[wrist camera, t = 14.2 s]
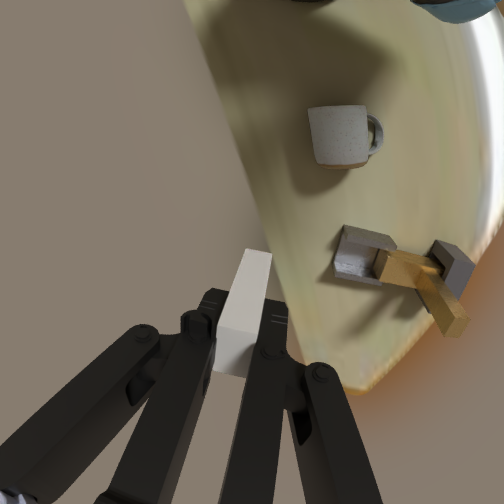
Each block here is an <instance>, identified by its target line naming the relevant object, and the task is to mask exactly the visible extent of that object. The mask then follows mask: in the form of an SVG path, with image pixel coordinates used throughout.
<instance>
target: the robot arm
mask: <svg viewBox="0 0 504 504" xmlns="http://www.w3.org/2000/svg"><path fill="white" fill-rule="evenodd" d="M292 1H299V2H319V1H324V0H292ZM410 1H411V2H412V3H414V4H415V5H417V6H420V7H422V8H423V9H425V10H426V11H428V12H429V13H431V14H432V15H433V16H435V17H436V18H438V19H439V20H441V21H444V22H449V23H452V24H459V23H465V22H469V21H472V20H475V19H477V18H479V17H481V16H483V15H485V14H486V13H488V12H490V11H491V10H492V9H494V8H495V7H496V3H498V2H500V1H502V0H410ZM271 259H272V254H271V253H266V252H262V251H257V250H252V249H247V248H246V250H245V252H244V255H243V258H242V260H241V263H240V266H239V268H238V271H237V274H236V276H235V279H234V282H233V285H232V287H231V290H230V292H229V291H224V290H220V289H215V288H211V289H210V290H209V291H207V292H206V293H205V294H204V296H203V298H202V301H201V302H200V304H199V307H198V308H197V310H191V311H187V312H186V313H184V314H183V315H182V316H181V333H179V334H173V335H163V334H159V333H158V330H157V329H156V328H154V327H153V326H150V325H146V324H140V325H136V326H133V327H132V328H130V329H129V330H128V331H127V332H125V333H124V334H123V335H122V336H121V337H120V338H119V339H117V340H116V341H115V342H114V343H113V344H112V345H110V346H109V347H108V348H107V349H106V350H105V351H104V352H103V353H101V354H100V355H99V356H98V357H97V358H96V359H95V360H93V361H92V362H91V363H90V364H89V365H88V366H87V367H86V368H84V369H83V370H82V371H81V372H80V373H79V374H78V375H77V376H75V377H74V378H73V379H72V380H71V381H70V382H69V383H68V384H66V385H65V386H64V387H63V388H62V389H61V390H60V391H59V392H58V393H57V394H55V395H54V396H53V397H52V398H51V399H50V400H49V401H48V402H47V403H46V404H44V406H42V407H41V408H40V409H39V410H38V411H37V412H36V413H35V414H34V415H32V416H31V417H30V418H29V419H28V420H27V421H26V422H25V423H24V424H23V425H22V426H21V427H20V428H19V429H18V430H16V432H14V433H13V434H12V435H11V436H10V437H9V438H8V439H7V440H6V441H5V442H4V443H3V444H2V445H1V446H0V504H52V503H53V502H55V501H56V500H57V499H58V498H59V497H60V496H61V495H62V494H63V493H64V492H65V491H66V490H67V489H68V488H69V487H70V486H71V485H72V484H73V483H74V481H75V480H76V479H77V478H78V477H79V476H80V475H81V474H82V473H83V472H84V471H85V469H86V468H87V467H88V466H89V465H90V464H91V462H93V461H94V459H95V458H96V457H97V456H98V455H99V454H100V453H101V452H102V450H103V449H104V448H105V447H106V446H107V445H108V444H109V442H110V441H111V440H112V439H113V438H114V437H115V436H116V435H117V434H118V432H119V431H120V430H121V429H122V428H123V427H124V425H126V423H127V422H128V421H129V420H130V419H131V418H132V417H133V415H134V414H135V413H136V412H137V411H138V410H139V409H140V407H141V406H142V405H143V404H144V403H145V402H146V400H147V399H148V398H149V399H148V401H147V403H146V405H145V407H144V410H143V412H142V414H141V416H140V418H139V420H138V423H137V425H136V427H135V429H134V431H133V434H132V435H131V438H130V440H129V442H128V444H127V447H126V449H125V451H124V453H123V455H122V458H121V460H120V462H119V464H118V467H117V469H116V471H115V474H114V476H113V478H112V481H111V483H110V485H109V487H108V489H107V490H106V491H105V492H103V493H102V494H100V495H99V496H98V498H97V499H96V500H95V502H94V504H171V501H172V498H173V495H174V492H175V489H176V486H177V483H178V479H179V477H180V473H181V470H182V467H183V464H184V461H185V458H186V454H187V451H188V448H189V445H190V442H191V439H192V436H193V433H194V429H195V426H196V423H197V420H198V417H199V414H200V410H201V407H202V404H203V401H204V398H205V395H206V392H207V388H208V386H209V383H210V376H211V371H212V368H213V371H217V372H221V373H225V374H229V375H234V376H239V377H243V378H246V383H245V387H244V391H243V395H242V400H241V405H240V410H239V414H238V419H237V424H236V428H235V432H234V437H233V441H232V446H231V450H230V454H229V459H228V463H227V467H226V472H225V476H224V480H223V484H222V488H221V493H220V497H219V501H218V504H273V497H274V490H275V482H276V474H277V466H278V457H279V449H280V440H281V431H282V421H283V410H284V409H286V410H287V413H288V418H289V423H290V428H291V432H292V438H293V443H294V447H295V452H296V457H297V461H298V467H299V471H300V476H301V481H302V486H303V491H304V496H305V500H306V504H383V502H382V499H381V496H380V493H379V489H378V486H377V484H376V480H375V478H374V474H373V471H372V468H371V466H370V463H369V459H368V456H367V453H366V451H365V448H364V445H363V442H362V439H361V436H360V434H359V431H358V428H357V425H356V422H355V419H354V417H353V414H352V411H351V409H350V406H349V403H348V400H347V398H346V395H345V392H344V390H343V387H342V384H341V382H340V379H339V376H338V374H337V372H336V371H335V369H334V368H333V367H331V366H330V365H328V364H326V363H322V362H315V363H311V364H310V365H308V366H306V365H303V364H301V363H299V362H297V361H295V360H294V359H293V358H291V357H290V355H289V354H288V352H287V350H286V340H287V324H288V308H287V306H286V304H285V302H280V301H275V300H270V299H266V298H265V293H266V287H267V282H268V276H269V270H270V265H271Z"/></svg>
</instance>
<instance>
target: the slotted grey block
mask: <svg viewBox="0 0 504 504" xmlns="http://www.w3.org/2000/svg"><path fill="white" fill-rule="evenodd" d="M429 258H431V259H435V260H439V261H441V263H442V264H443V265H444V266H445V267H446V269H445V271H444V274H443V276H442V280H443V281H444V282H445V284H446V285H447V286H448V288H449V289H450V291H451V292H452V293H453V295H454V296H455V298H456V299H457V300H459V298H460V296H461V295H462V292H463V291H464V289H465V287H466V285H467V282H468V281H469V279H470V276H471V274H472V272H473V270H474V268H475V266H476V265H475V264H474V263H473V262H472V261H471V260H470V259H469V258H468V257H467V256H466V255H465V254H464V253H463V252H462V251H461V250H460V249H459V248H458V247H457V246H456V245H452V244H449V243H446V242H443V241H439V240H436V241H435V243H434V246H433V248H432V251H431V253H430V256H429ZM415 290H416V292H417V294H418V296H419V297H420V299H421V301H422V303H423V304H424V306H425V308H426V310H427V312H428V313H430V314H431V312H430V310H429V309H428V307H427V305H426V303H425V302H424V300H423V298H422V296H421V295H420V293H419V291H418V290H417V289H416V288H415Z"/></svg>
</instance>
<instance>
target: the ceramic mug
mask: <svg viewBox="0 0 504 504" xmlns="http://www.w3.org/2000/svg"><path fill="white" fill-rule="evenodd" d="M307 112H308V117H309V123H310V129H311V135H312V142H313V149H314V155H315V158H316V161H317V164H318V165H319V166H321V167H323V168H326V169H337V170H339V169H354V168H359V167H362V166H364V165H365V164H366V163H367V161H368V155H371V154H374V153H376V152H377V151H379V149H380V148H381V146H382V144H383V140H384V129H383V125H382V123H381V122H380V120H379V119H378V118H377V117H376V116H374V115H372V114H370V113H367V109H366V106H365V105H344V106H322V107H313V108H308V110H307ZM367 117H368V118H370V119H371V120H372V121H373V123H374V126H375V143H374V145H373V147H372V148H370V149H369V143H368V124H367Z"/></svg>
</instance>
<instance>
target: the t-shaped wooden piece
mask: <svg viewBox="0 0 504 504" xmlns="http://www.w3.org/2000/svg"><path fill="white" fill-rule="evenodd" d="M445 269H446V267H445V266H444V265H443V264H442V263H441V261H439V260H435V259H431V258H428V257H424V256H420V255H416V254H412V253H408V252H404V251H400V250H396V251H395V252H392V251H388V250H384V249H380V250H379V253H378V256H377V258H376V261H375V264H374V266H373V270H374V272H375V274H376V276H377V278H378V281H380V282H385V283H391V284H396V285H401V286H406V287H411V288H416V289H417V290H418V291H419V293H420V295H421V296H422V298H423V300H424V302H425V303H426V305H427V307H428V309H429V310H430V312H431V314H432V316H433V318H434V319H435V321H436V323H437V325H438V327H439V329H440V331H441V333H442V335H443V336H444V337H455V338H459V337H460V336H461V334H462V332H463V331H464V330H465V328H466V326H467V325H468V323H469V321H470V318H469V317H468V315H467V314H466V312H465V311H464V309H463V308H462V307H461V305H460V303H459V302H458V300H457V299H456V298H455V296H454V295H453V293H452V292H451V291H450V289H449V288H448V286H447V285H446V284H445V282H444V281H443V280H442V276H443V274H444V271H445Z"/></svg>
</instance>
